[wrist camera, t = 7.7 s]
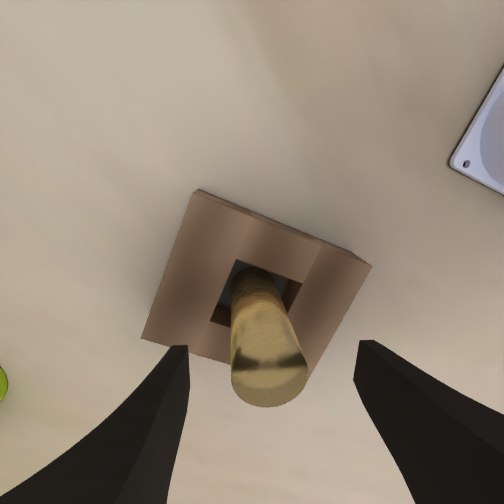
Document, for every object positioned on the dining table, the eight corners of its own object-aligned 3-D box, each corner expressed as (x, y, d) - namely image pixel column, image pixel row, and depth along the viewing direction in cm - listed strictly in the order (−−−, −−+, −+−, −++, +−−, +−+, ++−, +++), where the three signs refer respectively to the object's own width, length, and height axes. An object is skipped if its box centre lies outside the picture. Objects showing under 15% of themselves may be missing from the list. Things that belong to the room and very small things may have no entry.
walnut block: (352, 252, 20) (372, 266, 17) (294, 359, 23) (304, 386, 20) (198, 188, 18) (192, 192, 15) (153, 314, 20) (140, 338, 18)
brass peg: (280, 273, 20) (320, 353, 11) (266, 311, 20) (292, 413, 12) (238, 260, 19) (245, 334, 10) (225, 300, 20) (221, 398, 11)
